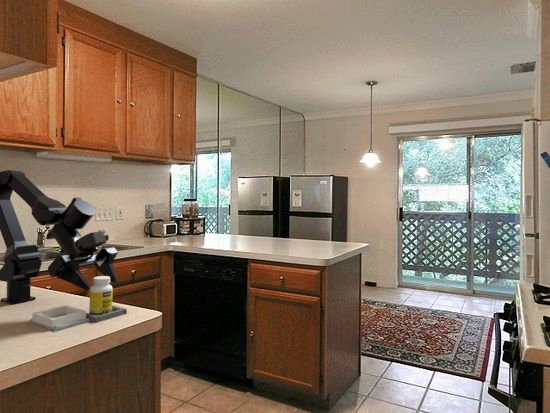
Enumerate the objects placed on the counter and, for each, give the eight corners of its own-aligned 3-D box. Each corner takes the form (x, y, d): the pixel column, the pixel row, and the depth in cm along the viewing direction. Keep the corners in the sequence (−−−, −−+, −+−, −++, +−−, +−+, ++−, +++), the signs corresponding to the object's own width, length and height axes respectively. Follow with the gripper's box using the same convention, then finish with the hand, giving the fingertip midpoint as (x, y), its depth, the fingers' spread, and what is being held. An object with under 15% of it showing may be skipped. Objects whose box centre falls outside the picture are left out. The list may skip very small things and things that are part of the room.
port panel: (29, 322, 95) (29, 312, 95) (62, 313, 102) (63, 304, 102) (55, 331, 89) (56, 320, 89) (89, 321, 96) (89, 311, 96)
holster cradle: (74, 315, 100) (74, 311, 100) (104, 307, 108) (104, 303, 108) (96, 322, 96) (96, 317, 96) (126, 313, 104) (126, 308, 104)
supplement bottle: (103, 318, 99) (104, 280, 99) (84, 316, 100) (85, 278, 100) (116, 312, 104) (117, 276, 104) (98, 310, 105) (99, 274, 105)
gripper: (56, 222, 94) (92, 272, 91) (113, 218, 112) (144, 260, 108) (32, 252, 97) (65, 301, 94) (91, 244, 115) (121, 285, 111)
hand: (102, 285), depth 102 cm, fingers open, 9 cm apart
